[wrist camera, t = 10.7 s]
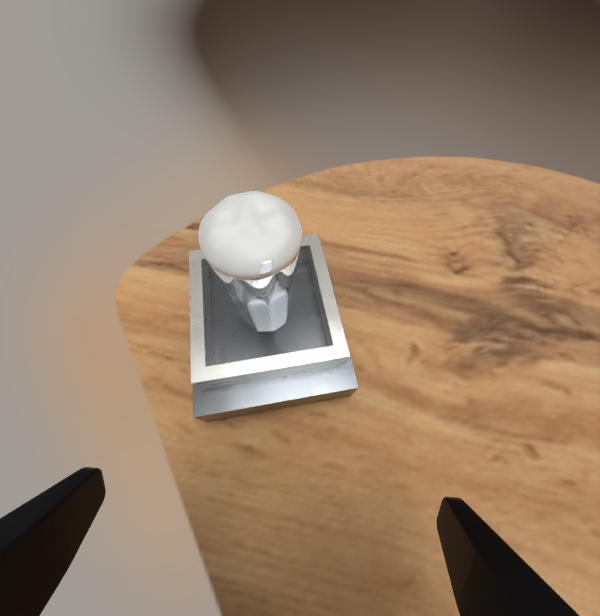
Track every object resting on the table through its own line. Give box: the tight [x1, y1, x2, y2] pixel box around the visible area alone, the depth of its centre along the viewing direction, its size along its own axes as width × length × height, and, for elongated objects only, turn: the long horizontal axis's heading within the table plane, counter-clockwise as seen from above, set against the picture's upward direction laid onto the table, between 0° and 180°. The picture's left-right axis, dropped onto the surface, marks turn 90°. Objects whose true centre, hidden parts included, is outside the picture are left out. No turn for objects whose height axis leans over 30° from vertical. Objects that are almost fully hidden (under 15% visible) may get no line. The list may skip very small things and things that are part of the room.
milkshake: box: [198, 191, 302, 332], centre depth 16 cm, size 4×5×10 cm
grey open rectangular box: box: [189, 235, 358, 422], centre depth 21 cm, size 12×10×5 cm
